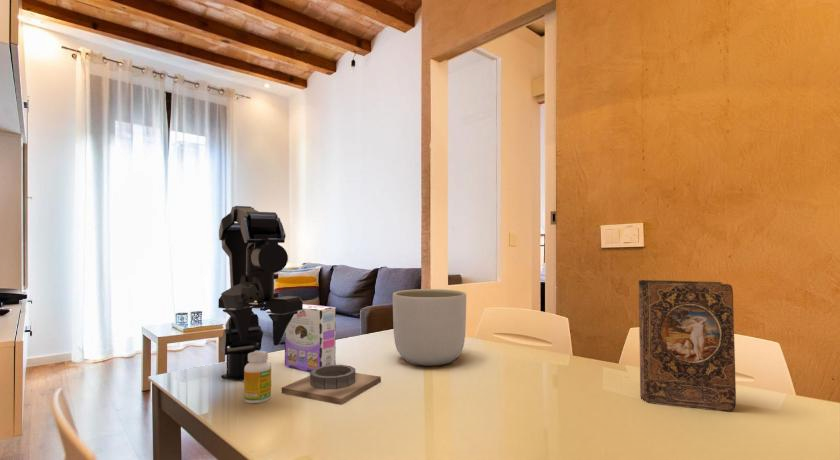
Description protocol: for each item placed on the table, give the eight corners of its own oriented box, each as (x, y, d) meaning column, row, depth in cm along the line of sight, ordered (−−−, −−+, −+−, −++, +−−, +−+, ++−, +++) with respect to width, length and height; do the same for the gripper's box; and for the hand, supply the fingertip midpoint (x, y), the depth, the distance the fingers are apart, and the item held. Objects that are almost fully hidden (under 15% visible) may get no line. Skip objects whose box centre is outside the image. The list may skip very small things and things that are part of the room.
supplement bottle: (261, 404, 89) (262, 357, 89) (238, 403, 90) (238, 355, 90) (275, 395, 94) (276, 350, 94) (253, 394, 95) (253, 349, 95)
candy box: (336, 369, 113) (336, 306, 114) (320, 375, 109) (320, 309, 109) (300, 361, 121) (300, 302, 121) (283, 366, 116) (283, 305, 116)
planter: (470, 371, 111) (469, 297, 112) (389, 371, 111) (389, 297, 112) (463, 351, 132) (462, 288, 133) (395, 351, 132) (395, 288, 133)
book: (642, 402, 90) (640, 281, 90) (638, 393, 95) (636, 279, 95) (736, 412, 84) (733, 284, 85) (726, 402, 89) (724, 281, 90)
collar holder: (281, 393, 95) (281, 376, 96) (326, 373, 110) (326, 358, 110) (341, 404, 89) (341, 386, 89) (380, 381, 103) (380, 366, 103)
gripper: (196, 271, 89) (195, 347, 89) (266, 274, 81) (265, 357, 81) (239, 267, 99) (238, 336, 99) (304, 270, 92) (303, 344, 91)
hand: (259, 343), depth 92 cm, fingers open, 9 cm apart
